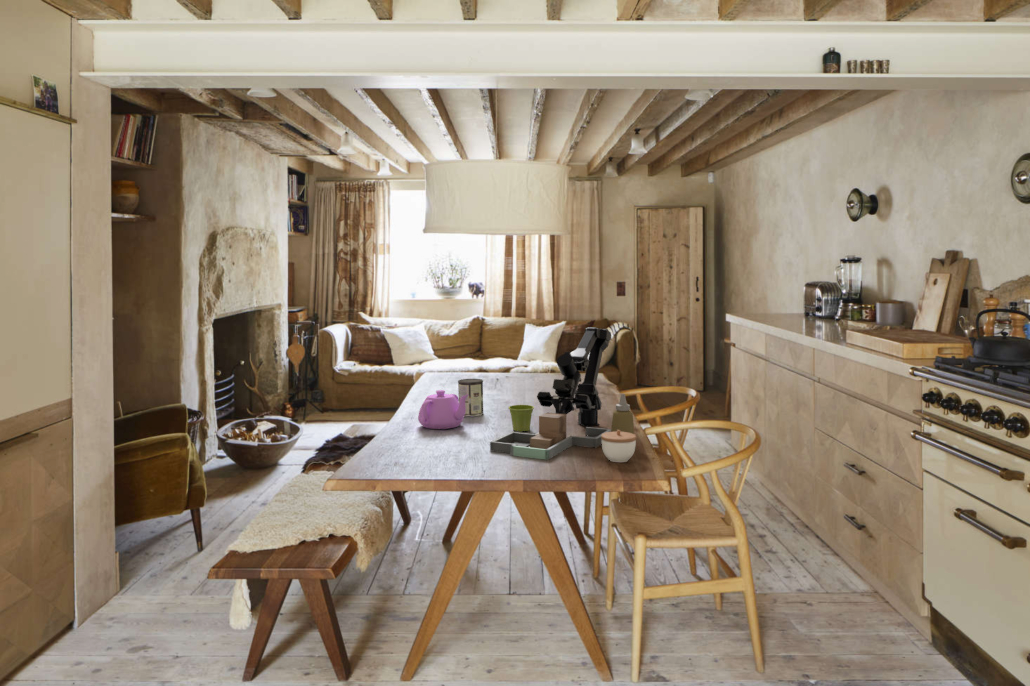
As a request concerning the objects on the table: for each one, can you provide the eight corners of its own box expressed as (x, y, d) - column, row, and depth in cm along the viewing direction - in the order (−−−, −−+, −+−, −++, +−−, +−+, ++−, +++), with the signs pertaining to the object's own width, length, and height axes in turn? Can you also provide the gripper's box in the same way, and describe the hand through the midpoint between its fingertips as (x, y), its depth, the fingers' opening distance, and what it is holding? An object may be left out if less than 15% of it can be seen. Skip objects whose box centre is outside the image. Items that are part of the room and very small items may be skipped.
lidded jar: (597, 455, 221) (598, 426, 220) (631, 454, 222) (631, 425, 221) (605, 465, 211) (605, 434, 210) (639, 464, 211) (640, 433, 211)
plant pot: (531, 433, 252) (531, 409, 252) (506, 432, 254) (506, 409, 253) (536, 427, 262) (536, 405, 261) (511, 427, 263) (511, 404, 263)
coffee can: (468, 410, 295) (467, 377, 294) (488, 413, 289) (488, 379, 288) (453, 415, 286) (452, 381, 285) (473, 417, 281) (473, 383, 279)
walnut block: (547, 440, 241) (547, 412, 240) (566, 443, 238) (566, 414, 237) (530, 450, 229) (529, 420, 228) (549, 452, 225) (549, 422, 224)
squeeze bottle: (636, 445, 234) (637, 392, 232) (632, 451, 226) (633, 396, 224) (612, 443, 236) (613, 391, 234) (607, 449, 229) (608, 395, 227)
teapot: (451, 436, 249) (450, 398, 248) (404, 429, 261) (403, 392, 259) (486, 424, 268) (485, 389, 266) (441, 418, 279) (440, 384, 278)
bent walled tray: (534, 429, 258) (534, 421, 258) (612, 437, 245) (612, 429, 245) (487, 452, 226) (487, 443, 226) (573, 463, 213) (573, 453, 213)
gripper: (539, 368, 246) (525, 404, 238) (588, 371, 238) (576, 409, 229) (548, 387, 254) (535, 423, 245) (596, 391, 246) (585, 428, 237)
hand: (557, 420), depth 239 cm, fingers closed
